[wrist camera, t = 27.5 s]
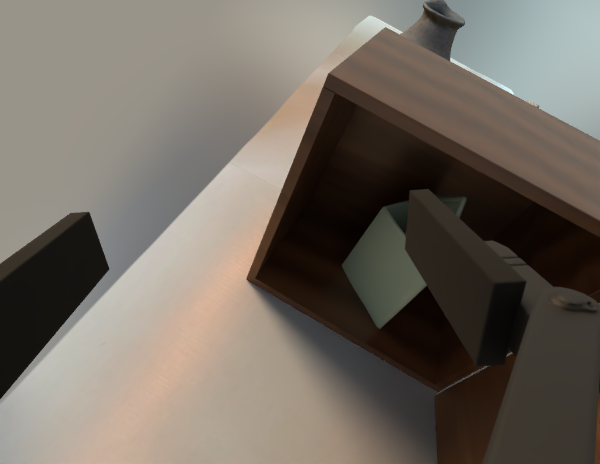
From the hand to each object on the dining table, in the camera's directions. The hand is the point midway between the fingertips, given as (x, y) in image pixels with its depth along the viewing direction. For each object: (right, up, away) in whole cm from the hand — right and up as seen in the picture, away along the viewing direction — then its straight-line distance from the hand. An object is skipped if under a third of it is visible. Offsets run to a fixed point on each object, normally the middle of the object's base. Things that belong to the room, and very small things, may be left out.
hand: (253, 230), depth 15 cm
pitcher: (+39, +54, +112) cm, 130 cm away
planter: (+12, -7, +41) cm, 44 cm away
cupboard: (+12, -8, +42) cm, 44 cm away
